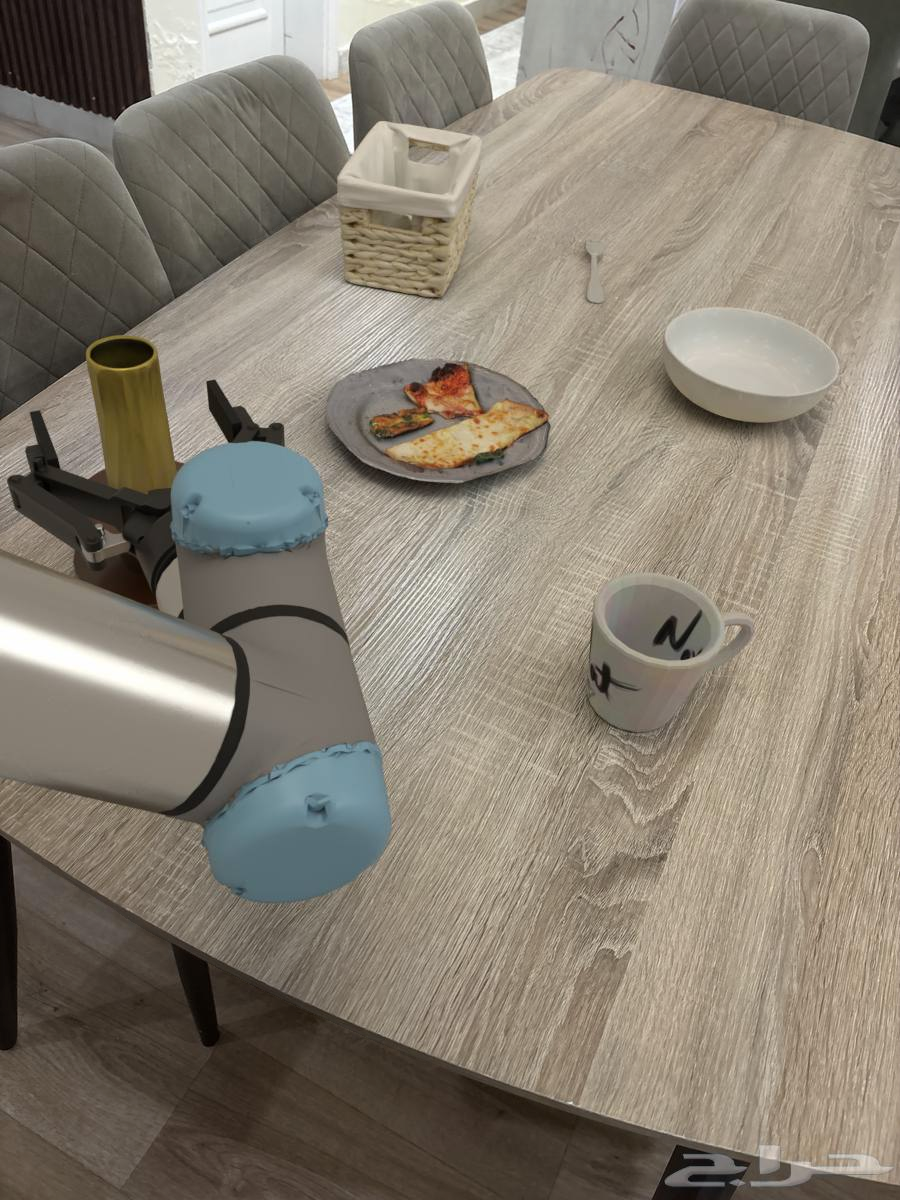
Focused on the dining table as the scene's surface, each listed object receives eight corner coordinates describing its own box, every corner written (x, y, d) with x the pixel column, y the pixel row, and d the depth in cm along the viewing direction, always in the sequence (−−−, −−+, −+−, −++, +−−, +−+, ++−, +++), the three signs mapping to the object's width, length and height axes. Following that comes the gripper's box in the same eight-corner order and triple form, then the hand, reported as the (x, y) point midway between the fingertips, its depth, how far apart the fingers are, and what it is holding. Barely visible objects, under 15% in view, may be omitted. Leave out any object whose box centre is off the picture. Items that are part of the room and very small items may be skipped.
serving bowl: (679, 337, 127) (693, 289, 122) (833, 387, 121) (854, 339, 116) (627, 406, 113) (640, 355, 108) (797, 467, 107) (820, 416, 103)
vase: (110, 479, 83) (81, 332, 73) (182, 476, 84) (163, 331, 74) (107, 524, 78) (76, 374, 69) (183, 520, 80) (163, 372, 70)
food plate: (469, 357, 118) (472, 331, 115) (588, 455, 105) (594, 429, 103) (290, 405, 106) (289, 377, 104) (399, 522, 94) (401, 494, 91)
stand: (78, 626, 80) (61, 563, 75) (73, 522, 89) (58, 460, 84) (244, 602, 84) (239, 541, 79) (223, 505, 93) (217, 445, 88)
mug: (551, 661, 82) (573, 578, 75) (702, 638, 86) (736, 557, 79) (597, 757, 75) (625, 675, 68) (759, 727, 79) (802, 646, 72)
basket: (447, 307, 127) (457, 196, 116) (330, 286, 128) (331, 175, 117) (475, 237, 144) (487, 135, 134) (372, 219, 145) (376, 116, 135)
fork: (581, 316, 134) (585, 299, 131) (582, 240, 147) (586, 223, 145) (601, 319, 134) (605, 302, 131) (600, 242, 147) (604, 226, 145)
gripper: (23, 672, 60) (-29, 480, 72) (380, 573, 69) (278, 419, 82) (-6, 587, 54) (-56, 397, 67) (385, 493, 64) (276, 342, 77)
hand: (128, 409), depth 75 cm, fingers open, 13 cm apart
